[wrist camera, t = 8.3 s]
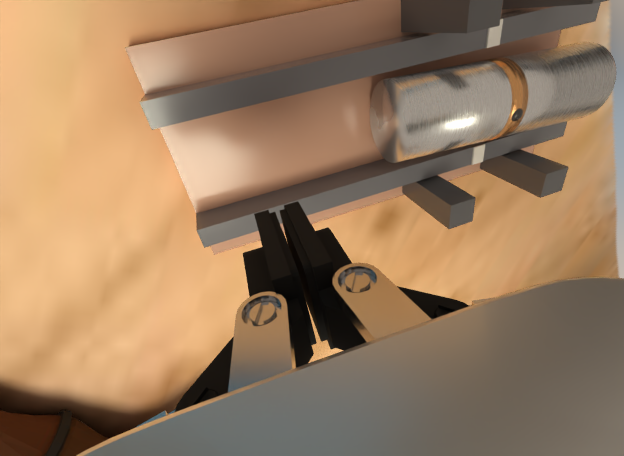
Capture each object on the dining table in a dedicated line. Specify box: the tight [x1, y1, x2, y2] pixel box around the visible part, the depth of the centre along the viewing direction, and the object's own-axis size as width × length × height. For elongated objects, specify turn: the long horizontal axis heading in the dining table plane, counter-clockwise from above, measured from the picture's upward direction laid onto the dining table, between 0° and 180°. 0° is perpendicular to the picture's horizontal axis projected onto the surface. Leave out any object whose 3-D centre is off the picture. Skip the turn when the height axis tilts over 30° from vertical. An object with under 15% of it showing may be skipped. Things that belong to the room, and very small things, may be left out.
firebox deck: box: [125, 0, 607, 255], centre depth 18 cm, size 12×25×6 cm, turn 99°
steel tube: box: [370, 42, 616, 163], centre depth 19 cm, size 13×4×5 cm, turn 96°
